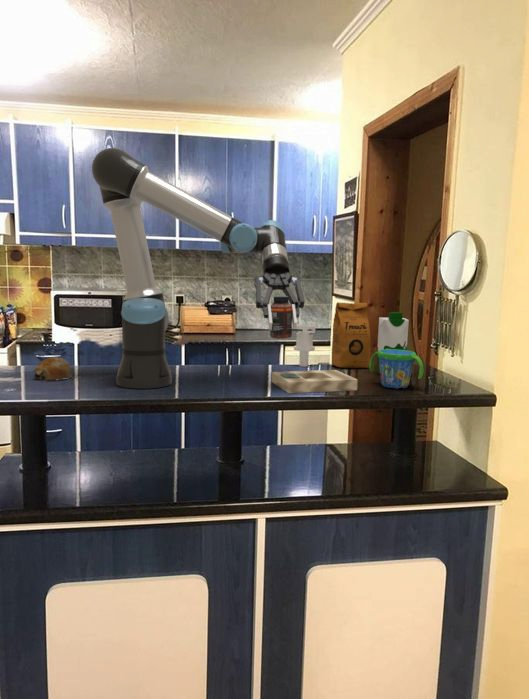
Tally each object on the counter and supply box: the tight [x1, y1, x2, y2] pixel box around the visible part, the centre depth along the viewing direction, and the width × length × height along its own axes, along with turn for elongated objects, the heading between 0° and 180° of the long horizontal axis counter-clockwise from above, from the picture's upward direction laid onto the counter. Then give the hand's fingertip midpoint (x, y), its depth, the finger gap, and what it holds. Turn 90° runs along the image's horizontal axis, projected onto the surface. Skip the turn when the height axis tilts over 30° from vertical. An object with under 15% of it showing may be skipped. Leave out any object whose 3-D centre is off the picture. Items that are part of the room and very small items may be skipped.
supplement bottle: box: [269, 295, 293, 340], centre depth 156 cm, size 6×6×11 cm
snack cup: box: [368, 349, 424, 390], centre depth 163 cm, size 16×10×10 cm
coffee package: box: [331, 302, 372, 369], centre depth 193 cm, size 10×12×22 cm
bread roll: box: [33, 356, 73, 381], centre depth 165 cm, size 10×10×8 cm
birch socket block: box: [271, 369, 358, 394], centre depth 162 cm, size 20×15×3 cm
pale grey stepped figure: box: [293, 321, 317, 368], centre depth 194 cm, size 7×7×15 cm
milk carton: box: [376, 311, 410, 374], centre depth 181 cm, size 9×9×20 cm
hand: (283, 325), depth 153 cm, fingers closed on supplement bottle, 6 cm apart
